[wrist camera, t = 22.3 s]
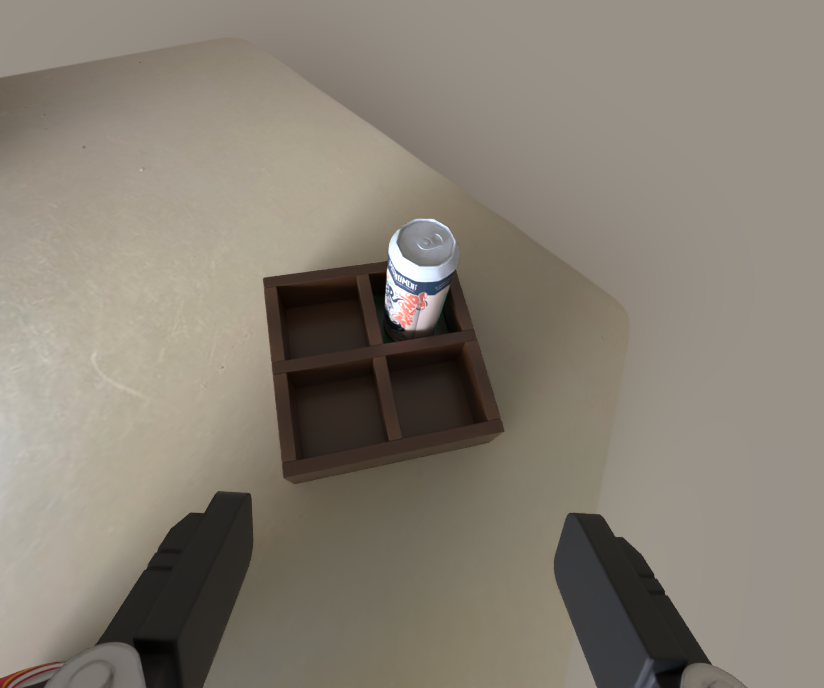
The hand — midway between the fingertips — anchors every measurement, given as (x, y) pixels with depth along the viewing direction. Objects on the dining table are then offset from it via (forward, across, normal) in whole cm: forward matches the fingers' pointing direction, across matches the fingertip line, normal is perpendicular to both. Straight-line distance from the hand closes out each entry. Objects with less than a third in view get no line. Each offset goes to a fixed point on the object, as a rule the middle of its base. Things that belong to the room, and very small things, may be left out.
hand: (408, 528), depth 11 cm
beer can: (+28, -1, +4) cm, 29 cm away
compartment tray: (+26, +2, +8) cm, 27 cm away
